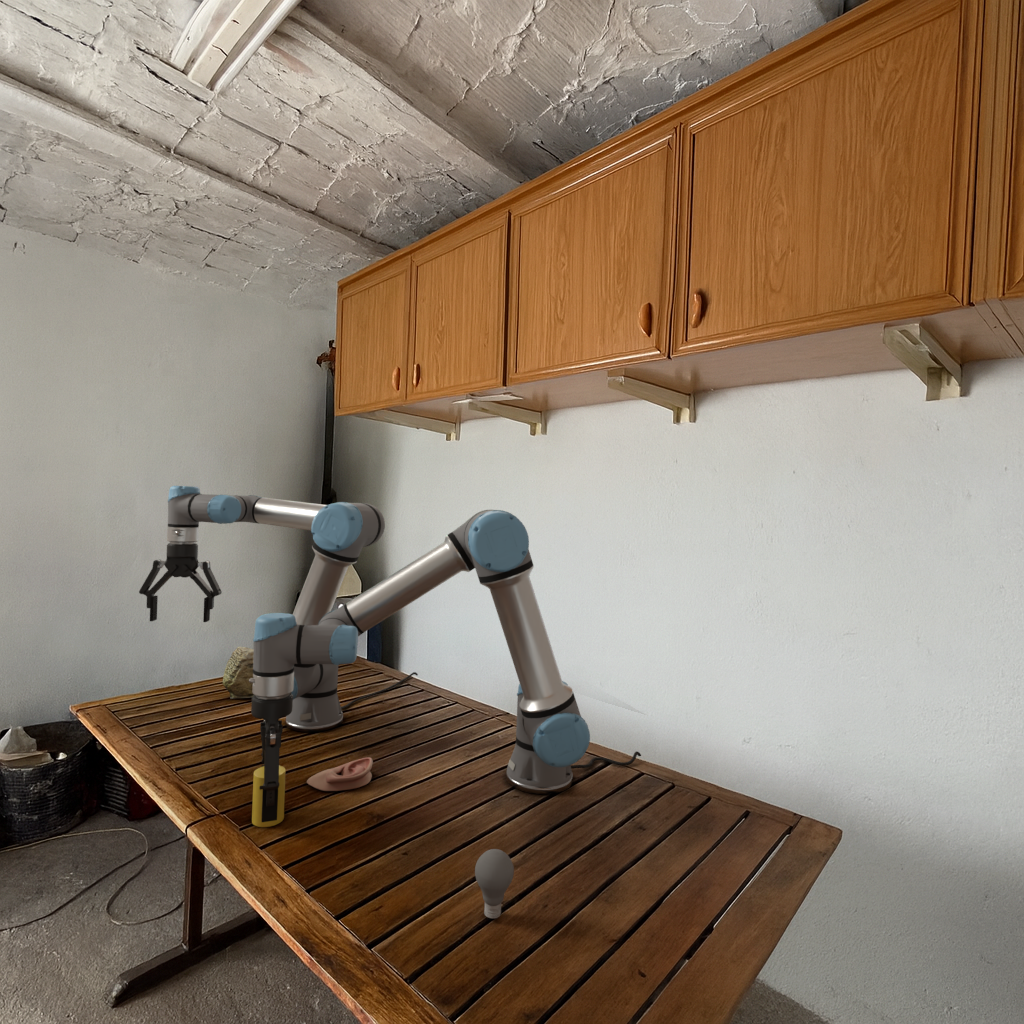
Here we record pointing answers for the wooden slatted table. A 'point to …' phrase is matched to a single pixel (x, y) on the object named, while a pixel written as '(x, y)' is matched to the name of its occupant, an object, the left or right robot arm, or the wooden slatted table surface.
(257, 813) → the cylinder
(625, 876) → the wooden slatted table surface
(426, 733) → the wooden slatted table surface
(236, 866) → the wooden slatted table surface
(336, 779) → the anatomical model
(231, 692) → the fossil
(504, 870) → the light bulb
